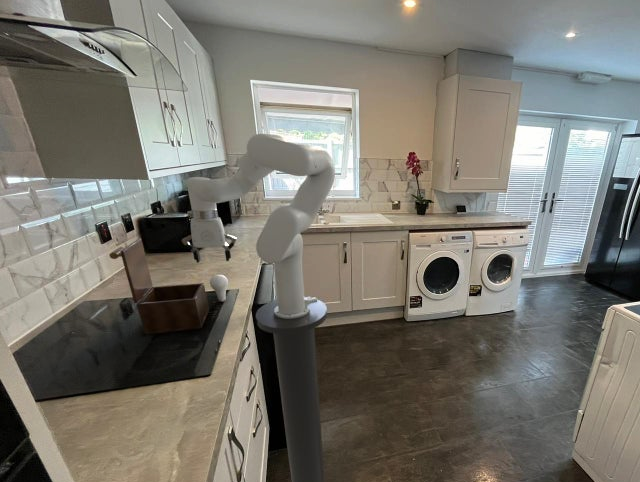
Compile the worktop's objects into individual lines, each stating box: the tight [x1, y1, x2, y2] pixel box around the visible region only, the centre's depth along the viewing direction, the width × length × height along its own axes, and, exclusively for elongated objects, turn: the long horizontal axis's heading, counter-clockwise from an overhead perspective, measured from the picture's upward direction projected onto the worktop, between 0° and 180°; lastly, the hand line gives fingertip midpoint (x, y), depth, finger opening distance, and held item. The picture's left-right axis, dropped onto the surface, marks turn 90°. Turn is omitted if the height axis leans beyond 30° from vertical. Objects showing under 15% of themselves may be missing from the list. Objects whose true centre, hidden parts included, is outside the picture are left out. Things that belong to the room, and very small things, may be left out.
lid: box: [109, 238, 154, 304], centre depth 100 cm, size 16×14×5 cm
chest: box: [135, 282, 210, 336], centre depth 108 cm, size 16×14×11 cm
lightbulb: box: [209, 274, 229, 302], centre depth 123 cm, size 6×6×11 cm
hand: (213, 260), depth 119 cm, fingers open, 9 cm apart
